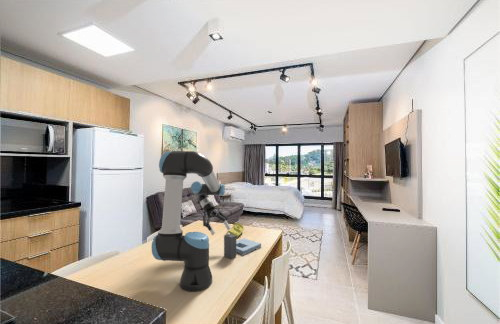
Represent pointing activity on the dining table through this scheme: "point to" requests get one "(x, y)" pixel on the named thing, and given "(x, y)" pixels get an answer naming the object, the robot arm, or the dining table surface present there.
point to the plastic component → (236, 230)
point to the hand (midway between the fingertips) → (221, 231)
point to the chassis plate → (246, 246)
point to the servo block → (230, 245)
